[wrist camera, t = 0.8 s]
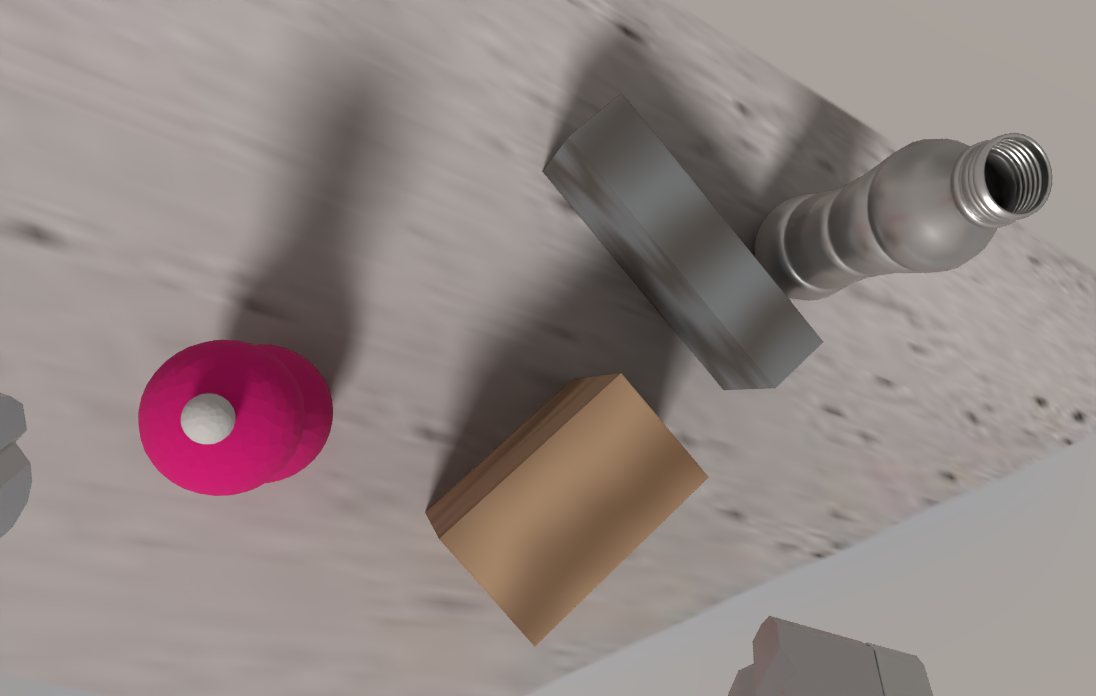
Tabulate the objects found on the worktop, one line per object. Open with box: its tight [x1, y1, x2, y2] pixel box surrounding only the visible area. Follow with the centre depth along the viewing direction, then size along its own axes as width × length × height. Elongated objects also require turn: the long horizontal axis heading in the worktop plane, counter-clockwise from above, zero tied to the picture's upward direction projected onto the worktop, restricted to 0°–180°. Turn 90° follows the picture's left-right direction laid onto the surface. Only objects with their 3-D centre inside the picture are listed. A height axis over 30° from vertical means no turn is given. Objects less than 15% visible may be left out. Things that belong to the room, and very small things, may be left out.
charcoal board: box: [543, 93, 823, 390], centre depth 50 cm, size 18×4×7 cm, turn 41°
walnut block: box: [425, 373, 708, 646], centre depth 46 cm, size 7×12×10 cm, turn 131°
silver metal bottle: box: [755, 133, 1052, 301], centre depth 46 cm, size 6×7×20 cm
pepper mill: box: [138, 340, 333, 496], centre depth 38 cm, size 7×7×20 cm
